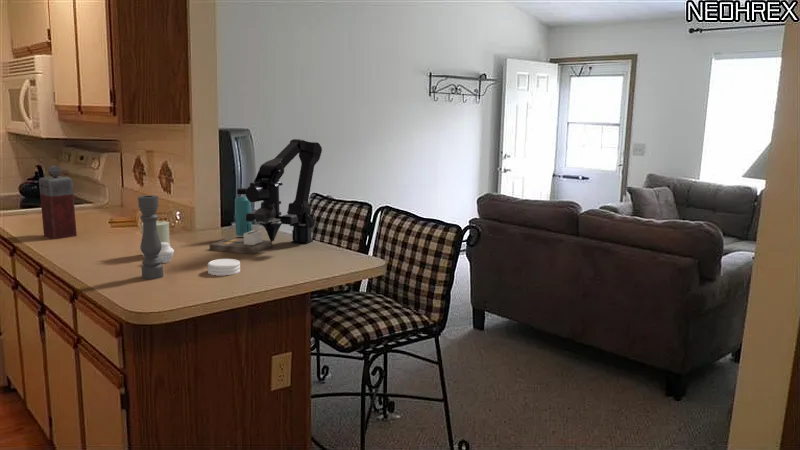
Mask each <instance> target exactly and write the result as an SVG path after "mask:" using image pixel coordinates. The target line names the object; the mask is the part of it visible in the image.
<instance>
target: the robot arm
mask: <svg viewBox="0 0 800 450" xmlns="http://www.w3.org/2000/svg"><path fill="white" fill-rule="evenodd" d="M322 152H323V148H322V146H321V144H320V143H319V142H316V141H306V140H304V139H302V138H301V139H300V138H299V139H297V138H293V139H291V140H290V141H289V143H288V144H287V145H286V146H285V147H284V148H283V149H282V150H280V152H279V153H278V154H277V155H276V156H275V158H273V159H270V160H267V161H266V162H264V163H262V164H260V167H259V168H258V169H259V170H258V171H257V173H256V176H255V178H254V180H253V182H250V183H249V186H248V187H246V189H247V190H246V194H245V197H247V199H248V200H249V201H250V202H251V203H257V202H260V207H259V208H258V209H257V210H256V211H251V212H250V213H247V214H246V216H245V218H246V221H251V222H254V221H255V222H256V223H259V225H262V227H264V229H265V231H266V232H267V236H268V238H269V241H272V242H274V241H275V239H276V236H277V234H278V231H279V229H280V227H281V226H282V225H289V226H290V227H293V228H292V230H291V231H292V232H291V233H292V234H291V235H292V241H291V243H292V244H293V243H295V244H304V245H306V244H308V243H311V242H312V243H313V241H314V239H312V228H314V227H315V225H316V220H315V219H314V217H313V216H312V215H311V213H312V212H311V209H312V208H311V206H310V203H309V197H310V192H311V187H312V182H313V176H314V175H313V174H314V171H315V170H314V169H315V166H316V164H317V163H318V162H319V161H320V159H321V155H322ZM297 155H298V158H299V160H300V163H301V164H300V170H299V177H298V182H297V188H296V192H295V198H294V201H293V202H290V203H289V204H288V209H287V212H286V214H284V215H282V212H281V211H280V205H282V200H280V187H281V186H283V182H282V181H280V179H281V178H282V176H284V173H285V168H286V167H287V166H288V165H289V164H290V163H291V161H292V160H294V159H295V157H296V156H297Z"/></svg>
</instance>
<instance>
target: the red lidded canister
mask: <svg viewBox="0 0 800 450" xmlns="http://www.w3.org/2000/svg"><path fill="white" fill-rule="evenodd" d="M47 173H48V175H49V176H48V177H47V176H46V177H40V178H38V184H39V195H40V196H39V198H40V205H41V215H42V216H41V217H42V219H41V220H42V228H43V229H42V230H43V237H45V238H47V239H52V240H59V239H60V240H61V239H64V238H72V237H73V238H74V237H77V232H78V231H77V224H76V209H75V199H74V198H75V196H74V185H73V179H72V178H71V177H68V176H61V175H62V168H61V167H59V166H56V165H52V166H49V167H48V171H47Z"/></svg>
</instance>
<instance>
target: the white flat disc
mask: <svg viewBox="0 0 800 450" xmlns="http://www.w3.org/2000/svg"><path fill="white" fill-rule="evenodd" d="M240 272H241V261H240V260H238V259H235V258H219V259H218V258H217V259H214V260H210V261H209V262H208V263H207V273H208V274H209V275H210V274H211V275H210V276H214V275H216V277H217V276H218V277H223V276H224V277H225V276H226V275H228V276H234V275H237V274H239V273H240ZM233 274H234V275H233Z"/></svg>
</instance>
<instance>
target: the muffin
mask: <svg viewBox="0 0 800 450" xmlns="http://www.w3.org/2000/svg"><path fill="white" fill-rule="evenodd" d="M161 245H162V248H161V251H160V253H159V256H158V257H159V258H160V259H161V260H162V262H161V264H168V263H170V262H171V260H172V258H173V256H174V253H175V250H174V248H172V246H171V243H170V244H169V243H167V242H162V243H161Z"/></svg>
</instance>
